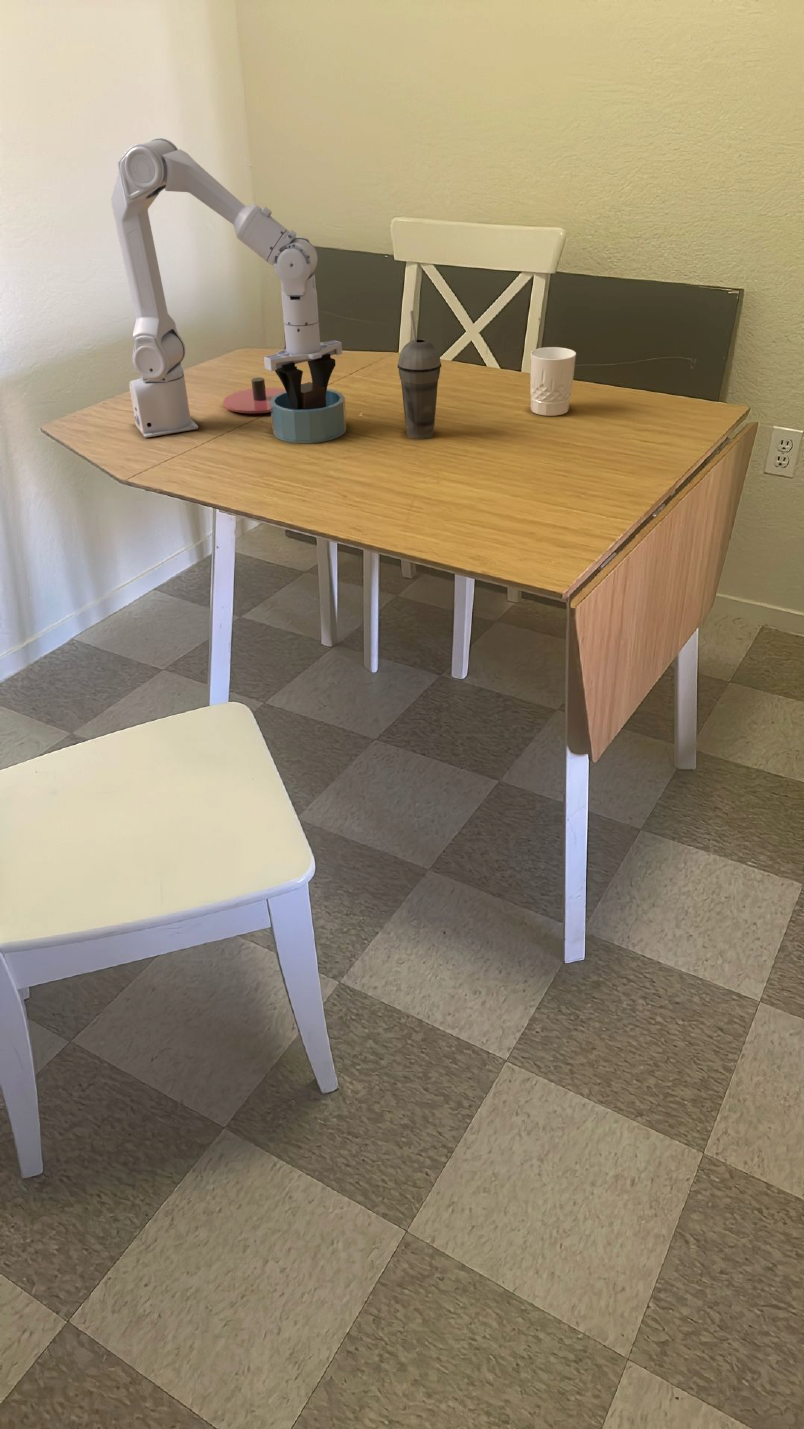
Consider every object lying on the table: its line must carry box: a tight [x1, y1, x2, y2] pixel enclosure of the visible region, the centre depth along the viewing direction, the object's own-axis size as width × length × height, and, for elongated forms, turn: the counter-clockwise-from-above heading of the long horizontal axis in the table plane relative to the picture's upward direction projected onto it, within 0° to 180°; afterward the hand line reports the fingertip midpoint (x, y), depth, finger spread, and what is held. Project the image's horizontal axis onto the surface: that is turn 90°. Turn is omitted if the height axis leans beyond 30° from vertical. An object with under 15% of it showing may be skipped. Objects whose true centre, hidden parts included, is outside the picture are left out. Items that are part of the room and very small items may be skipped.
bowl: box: [270, 388, 347, 444], centre depth 168 cm, size 13×13×6 cm
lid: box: [222, 376, 286, 414], centre depth 180 cm, size 14×14×5 cm
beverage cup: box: [397, 310, 442, 440], centre depth 161 cm, size 7×7×20 cm
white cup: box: [529, 346, 577, 417], centre depth 172 cm, size 8×8×10 cm
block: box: [290, 381, 326, 410], centre depth 166 cm, size 4×4×4 cm
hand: (307, 405), depth 167 cm, fingers closed on block, 4 cm apart
